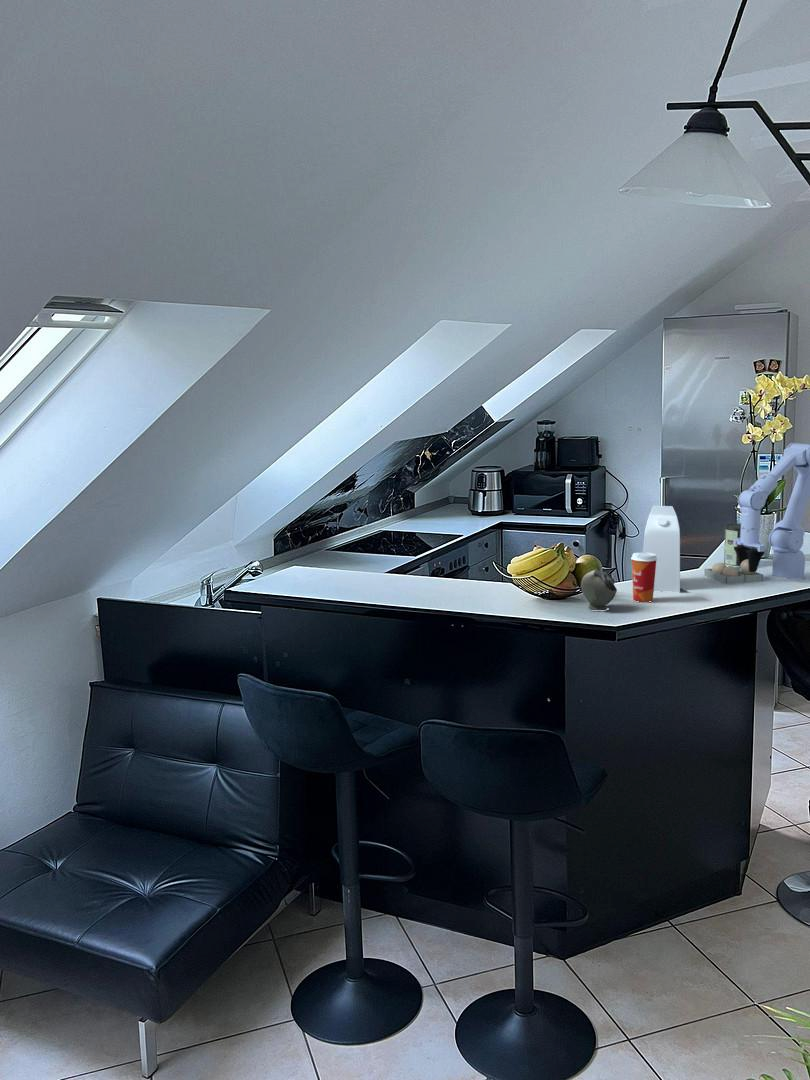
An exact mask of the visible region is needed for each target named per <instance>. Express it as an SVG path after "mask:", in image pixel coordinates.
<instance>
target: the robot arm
mask: <svg viewBox="0 0 810 1080" xmlns="http://www.w3.org/2000/svg"><path fill="white" fill-rule="evenodd" d="M792 467H793V469H795V471H796V472H797V474H798V475H797V478H796V481H795V483H794V485H793V486H794V487H793V489H792V492H791V495H790V498H789V501H788V504H787V507H786V509H785V513H784V515H783V518H782V519H781V520H780V521H778V522H776V523H775V524H774V527H773V529H772V530H771V531H770V532H769V534H768V543H769V545H770V546H771V550H772V551H773V553H772V555H773V556H772V569H771V570H772V572H771V573H772V576H774V577H777V578H786V579H802V578H804V579H806V578H807V577H806V576H805V566H806V556H805V554H804V552H803V551H802V550H801V549H802V547H803V546H804V545H803V544H804V536H805V533H806V531H805V529H804V528H803V526H802V525H801V523H802V519H803V516H804V514H805V511H806V509H807V505H808V503H809V499H810V444H809V443H797V442H791V443H789V444H788V445H787V447H785V448H784V450H783V455H782V456H781V457H780V459H779V460H778V461H777V463H776V464H775V465H774V466H773V468H772V469H771V470H770V472H769V473H763V474H760V475H759V477H758V479H757V480H756V481H755V482H754V483H753V484H752V485H751V486H750V487H749V489H746V490H744V491H742V492H741V493H740V494H739V496H738V498H737V503H738V506H739V512H740V513H741V515H740V524H741V532H740V538H734V544H738V546H737V547H734V550H735V552H736V554H737V557H738V561H739V566H738V567H740V565H741V563H742V561H744V560H746V559H748V561H749V572H757V570H758V567H759V564H760V561H761V559H762V557H763V556H764V554H766V545H765V544H763V543H761V542H760V531H761V530H760V528H761V527H760V525H761V511H762V510H761V509H762V508H764V506H765V504H766V501H767V499H768V497H769V495H770V494H771V493H772V492H773V491H774V490H775V489H776V488H777V487H778V485H779V483H778V480H779V479H781V477H783V476H784V475H785V474H786V473H788V472H789V471H790V470H791V469H792ZM751 549H752V550H751Z"/></svg>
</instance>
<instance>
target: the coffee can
mask: <svg viewBox="0 0 810 1080" xmlns="http://www.w3.org/2000/svg"><path fill="white" fill-rule="evenodd" d="M724 527H725V528H724V549H723V550H724V552H723V553H724V554H723V563H724V564H725V565H726V566H733V567H740V566H739V561H738V557H737V554H736V552H735V550H734V547H737V546H738V544H734V538H740V532H741V523H728V524H725V525H724ZM751 550H752V549H751Z"/></svg>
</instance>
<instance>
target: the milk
mask: <svg viewBox="0 0 810 1080" xmlns="http://www.w3.org/2000/svg"><path fill="white" fill-rule="evenodd" d="M648 514H649V515H648V516H647V522H646V525H645V529H644V533H643V535H644V536H643V547H642V553H653V554H656V557H657V559H658V560H656V571H655V582H654V591H672V592H680V593H681V529H680V523H679V520H678V515H677V513H676V511H675V509H674V507H673V505H669V506H668V505H653V506H652V507H651V510H650V513H648Z"/></svg>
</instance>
